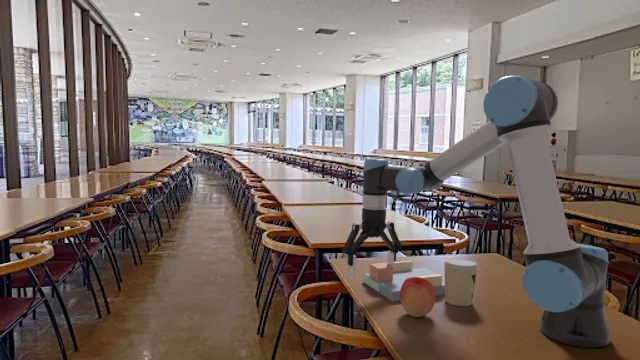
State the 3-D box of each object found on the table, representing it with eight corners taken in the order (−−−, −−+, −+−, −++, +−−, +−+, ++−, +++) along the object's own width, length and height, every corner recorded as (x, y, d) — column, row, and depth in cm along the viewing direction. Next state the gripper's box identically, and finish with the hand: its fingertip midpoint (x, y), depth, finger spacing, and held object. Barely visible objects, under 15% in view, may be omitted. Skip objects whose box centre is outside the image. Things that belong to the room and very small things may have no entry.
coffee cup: (479, 307, 127) (481, 266, 126) (446, 306, 127) (448, 265, 126) (469, 297, 136) (471, 258, 135) (438, 295, 137) (440, 257, 136)
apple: (392, 310, 124) (393, 275, 123) (421, 307, 127) (423, 273, 126) (411, 324, 115) (412, 287, 114) (441, 320, 118) (443, 283, 117)
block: (392, 279, 142) (393, 267, 141) (377, 281, 140) (378, 268, 139) (384, 274, 147) (384, 262, 146) (369, 275, 145) (369, 263, 144)
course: (458, 292, 140) (459, 274, 139) (391, 301, 131) (392, 281, 130) (424, 275, 156) (425, 259, 156) (363, 282, 147) (363, 264, 147)
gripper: (401, 204, 148) (399, 266, 150) (333, 207, 138) (331, 273, 140) (414, 208, 141) (411, 273, 143) (343, 211, 131) (340, 280, 133)
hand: (371, 273), depth 141 cm, fingers open, 13 cm apart
